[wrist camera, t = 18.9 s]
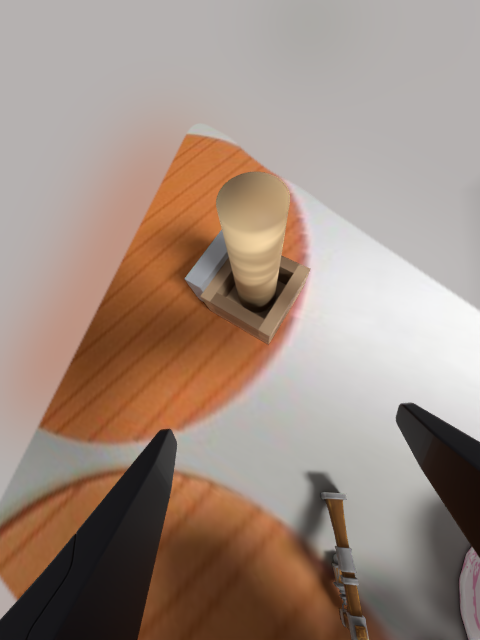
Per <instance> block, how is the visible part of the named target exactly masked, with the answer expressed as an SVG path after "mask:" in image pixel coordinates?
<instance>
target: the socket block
mask: <svg viewBox="0 0 480 640" xmlns="http://www.w3.org/2000/svg"><path fill="white" fill-rule="evenodd" d="M309 272H310V268H307V267H305V266H303V265H301V264H299V263H297V262H294V261H292V260H290V259H288V258H286V257H284V256H281V261H280V267H279V273H278V280H277V286H276V292H275V299H274V302H273V304H272V305H271V307H270V308H269V309H267V310H266V311H263V312H259V313H254V312H251V311H249V310H247V309H246V308H244V307H243V306H242V305H241V303H240V300H239V296H238V292H237V288H236V284H235V280H234V276H233V272H232V268H231V264H230V260H229V257H228V259H227V260H226V261H225V263H224V264H223V266H222V267H221V268H220V270H219V271H218V272H217V274H216V275H215V277H214V278H213V279H212V281H211V282H210V284H209V285H208V286H207V288H206V289H205V290H204V292H203V293H202V295H201V296H200V297H201V298H202V299H203V301H204V302H205V304H206V305H207V307H208V308H209V310H210V311H212V312H214V313H216V314H217V315H219V316H221V317H222V318H224V319H226V320H227V321H229V322H231V323H232V324H234V325H236V326H238V327H239V328H241V329H243V330H244V331H246V332H248V333H249V334H251V335H253V336H254V337H256V338H258V339H259V340H261V341H263V342H265V343H266V344H268V345H269V343H270V342H271V340H272V338H273V337H274V335H275V333H276V332H277V330H278V328H279V327H280V325H281V323H282V322H283V320H284V318H285V317H286V315H287V313H288V312H289V310H290V308H291V307H292V305H293V303H294V302H295V300H296V299H297V297H298V295H299V294H300V292H301V290H302V289H303V287H304V284H305V282H306V279H307V277H308V274H309Z"/></svg>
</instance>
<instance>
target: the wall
mask: <svg viewBox="0 0 480 640" xmlns="http://www.w3.org/2000/svg"><path fill="white" fill-rule="evenodd" d="M228 257H229V256H228V252H227V248H226V244H225V240H224V236H223V232H222V230H221V231H220V232H219V234H218V235H217V236H216V238H215V239H214V240H213V242H212V243H211V244H210V246H209V247H208V248H207V250H206V251H205V252H204V254H203V255H202V256H201V258H200V259H199V260H198V262H197V263H196V264H195V266H194V267H193V268H192V269H191V271H190V272H189V273H188V275H187V276H186V277H185V280H186V282H187V283H188V285H189V286H190V287H191V289H192V290H193V291H194V293H195V294H196V296H197V297H198V298H199V299H200V300H202V301H203V299H202V298H201V297H200V296H201V295H202V293H203V292H204V290H205V289H206V288H207V286H208V285H209V284H210V282H211V281H212V279H213V278H214V277H215V275H216V274H217V272H218V271H219V270H220V268H221V267H222V266H223V264H224V263H225V261H226V260H227V259H228ZM203 302H204V301H203Z"/></svg>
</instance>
